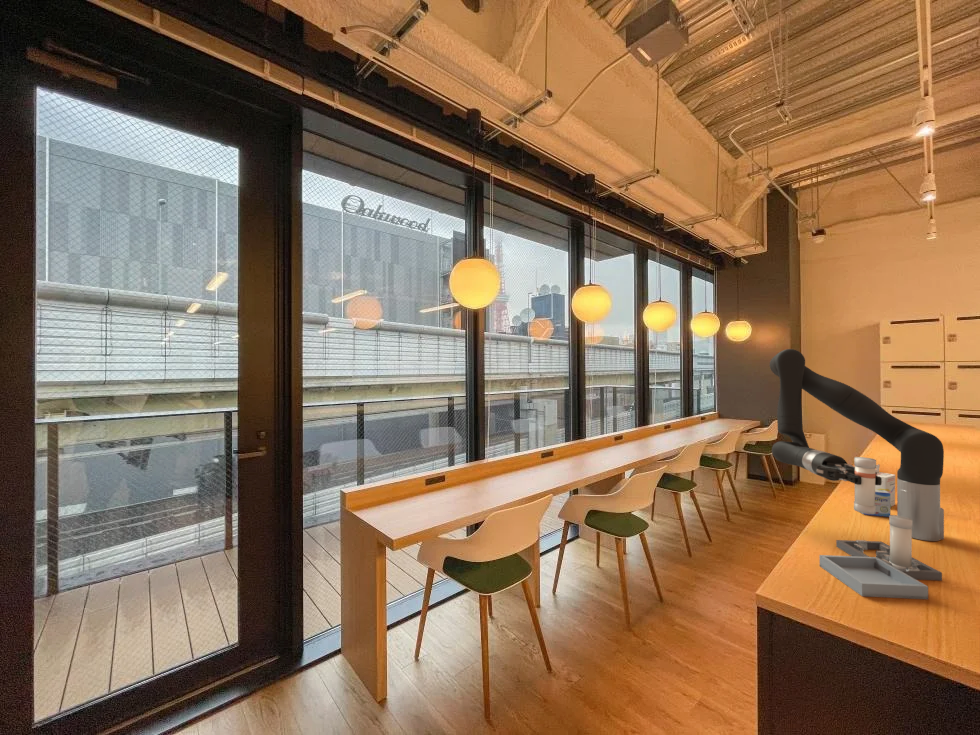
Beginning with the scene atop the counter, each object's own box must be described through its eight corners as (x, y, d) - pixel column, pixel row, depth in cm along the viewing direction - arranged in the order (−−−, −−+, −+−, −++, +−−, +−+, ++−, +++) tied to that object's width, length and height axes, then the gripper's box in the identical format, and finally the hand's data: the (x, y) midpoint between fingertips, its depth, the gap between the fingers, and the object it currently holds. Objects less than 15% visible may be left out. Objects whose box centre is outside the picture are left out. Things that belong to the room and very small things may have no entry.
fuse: (902, 567, 106) (902, 515, 106) (917, 575, 102) (917, 521, 102) (884, 566, 107) (884, 514, 107) (898, 574, 103) (899, 521, 102)
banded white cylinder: (866, 508, 108) (867, 457, 107) (880, 514, 103) (880, 461, 103) (849, 507, 108) (850, 456, 108) (862, 513, 104) (862, 460, 104)
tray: (876, 568, 106) (876, 557, 106) (928, 599, 92) (928, 586, 92) (819, 566, 108) (819, 555, 107) (862, 596, 94) (862, 583, 94)
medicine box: (862, 514, 143) (862, 490, 143) (856, 510, 147) (856, 487, 147) (891, 517, 140) (890, 493, 140) (884, 513, 144) (884, 489, 144)
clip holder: (881, 548, 117) (881, 539, 117) (941, 580, 100) (942, 570, 100) (836, 546, 119) (836, 538, 118) (888, 578, 101) (888, 568, 101)
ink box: (886, 509, 148) (886, 469, 148) (869, 504, 152) (869, 466, 152) (896, 504, 152) (896, 466, 152) (878, 501, 156) (878, 463, 156)
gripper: (798, 451, 122) (839, 466, 105) (850, 452, 120) (900, 467, 103) (798, 475, 122) (839, 494, 105) (849, 477, 120) (900, 496, 103)
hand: (869, 481), depth 104 cm, fingers closed on banded white cylinder, 4 cm apart
